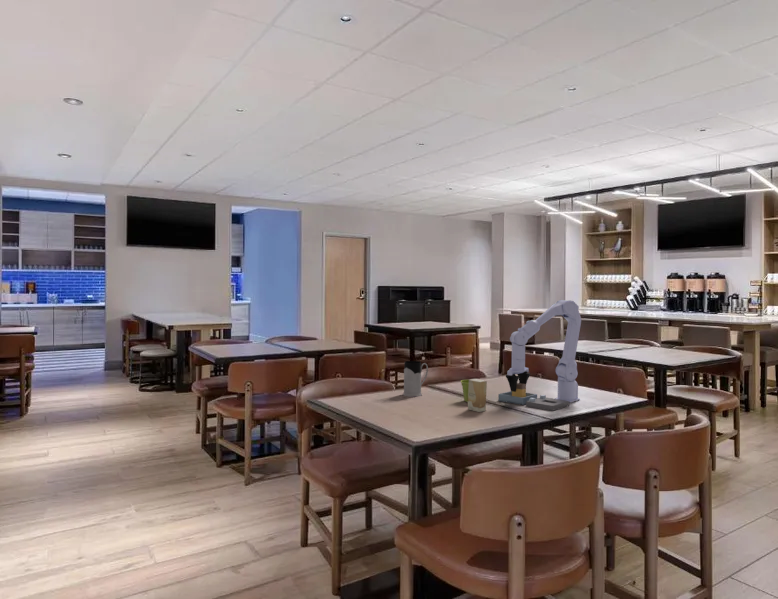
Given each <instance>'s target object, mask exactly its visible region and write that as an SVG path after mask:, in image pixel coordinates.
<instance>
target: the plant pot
mask: <svg viewBox="0 0 778 599" xmlns="http://www.w3.org/2000/svg"><path fill="white" fill-rule="evenodd" d="M469 380H470V379H462V380H460V383H461V387H462V394H463V401H464V402H466V403H468V387H469Z"/></svg>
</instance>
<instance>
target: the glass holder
mask: <svg viewBox="0 0 778 599" xmlns="http://www.w3.org/2000/svg"><path fill="white" fill-rule="evenodd" d="M424 365H425V366H426V369H425V370H426V372H425V375H424V378H423V379H422V372H423V371H422V370H423V366H424ZM403 368H404V369H403V393H402V396H404V397H409V398H410V397H411V398H412V397H414V398H415V397H421V396H422V386H423V383H424V382H425V381H426V379H427V376H428V372H429V366H428V364H427V363H426V362H424V363H422V362H421V361H419V360H407V361H404V367H403Z"/></svg>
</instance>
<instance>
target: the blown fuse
mask: <svg viewBox="0 0 778 599" xmlns="http://www.w3.org/2000/svg"><path fill="white" fill-rule="evenodd" d="M526 393H527V383H526V384H522V383H519V382H517V388H516V392H513V391H512V396H515V397H522V398H523V397H526Z"/></svg>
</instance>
